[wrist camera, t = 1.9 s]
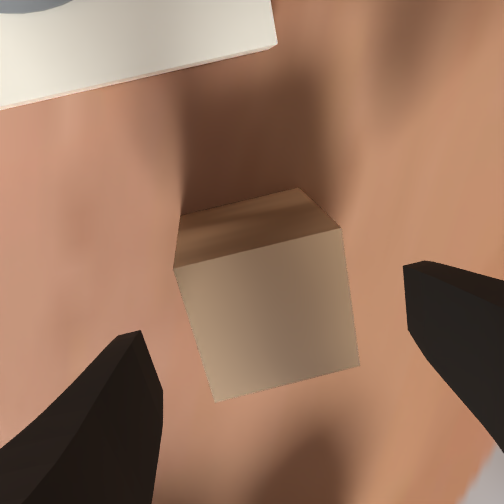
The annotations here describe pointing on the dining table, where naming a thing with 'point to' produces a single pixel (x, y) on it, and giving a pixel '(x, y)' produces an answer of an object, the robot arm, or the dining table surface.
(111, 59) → the base board
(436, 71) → the dining table surface
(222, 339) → the walnut block
